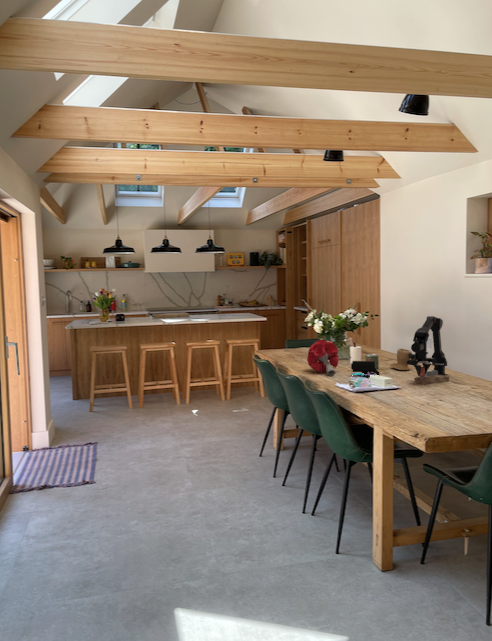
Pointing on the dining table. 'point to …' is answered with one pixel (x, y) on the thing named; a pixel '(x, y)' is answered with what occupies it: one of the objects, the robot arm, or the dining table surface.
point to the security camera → (364, 367)
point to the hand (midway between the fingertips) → (421, 375)
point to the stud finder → (431, 373)
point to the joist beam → (431, 379)
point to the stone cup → (401, 360)
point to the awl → (422, 372)
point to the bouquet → (323, 356)
